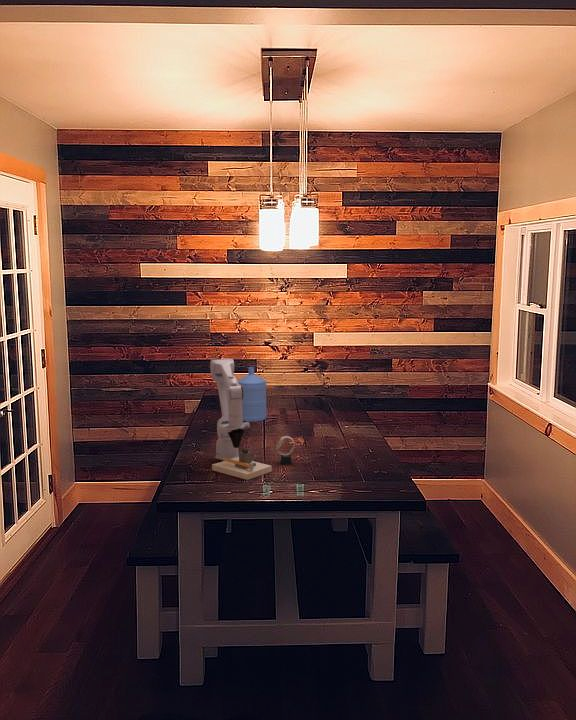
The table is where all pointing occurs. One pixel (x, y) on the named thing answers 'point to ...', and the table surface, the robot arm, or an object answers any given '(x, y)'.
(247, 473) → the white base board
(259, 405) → the water jug
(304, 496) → the table surface
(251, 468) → the orange long bar
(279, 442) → the watch
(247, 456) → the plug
